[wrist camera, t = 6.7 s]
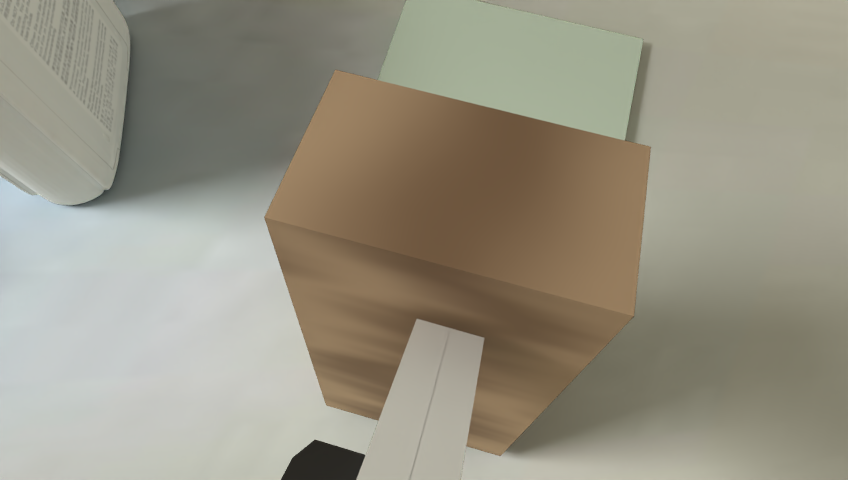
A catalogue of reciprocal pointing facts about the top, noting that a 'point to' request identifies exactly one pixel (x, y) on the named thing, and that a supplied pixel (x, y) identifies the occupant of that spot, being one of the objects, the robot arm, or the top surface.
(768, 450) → the top surface
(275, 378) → the top surface
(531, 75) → the mat
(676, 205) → the top surface
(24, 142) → the photo printer
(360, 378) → the walnut block
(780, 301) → the top surface
